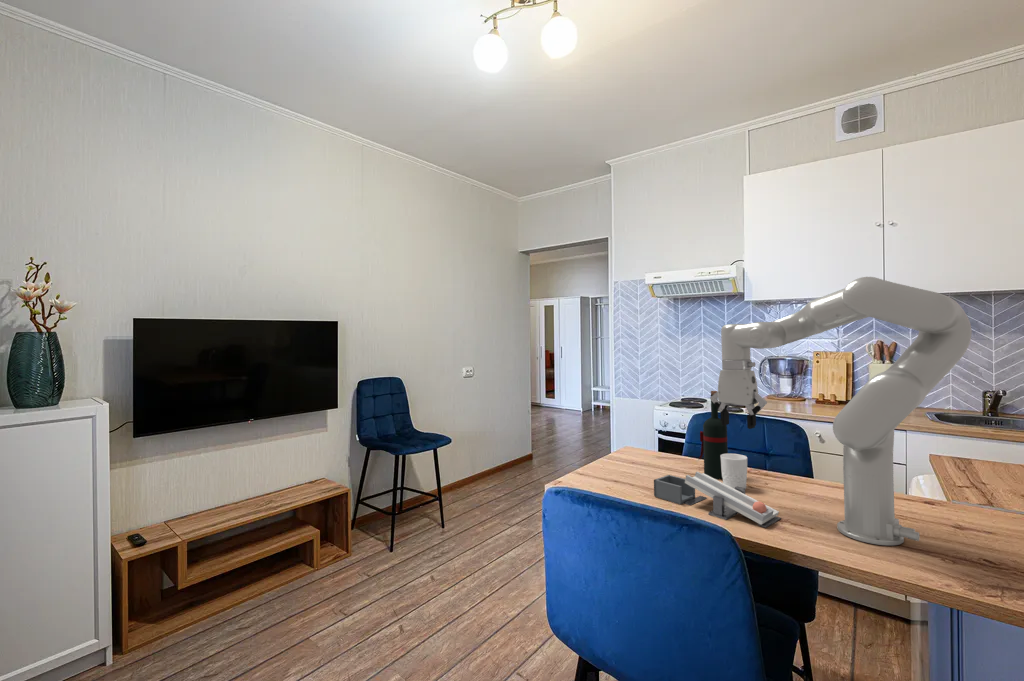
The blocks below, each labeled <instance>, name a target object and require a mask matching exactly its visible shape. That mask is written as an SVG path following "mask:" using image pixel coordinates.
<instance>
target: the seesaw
mask: <svg viewBox="0 0 1024 681" xmlns="http://www.w3.org/2000/svg"><path fill="white" fill-rule="evenodd" d="M684 479H685V483H686V484H687V485H689V486H691V487H693V488H695V490H697V491H698V492H700V493H702V494H704V495H705V496H707V497H710V498H711V499H713V496H718V497H722V498H724V505H726V506H728V507H730V508H731V509H733V510H735V511H737V512H739V514H741V515H742V516H744V517H746V518H748V519H750V520H752V521H753V522H755V523H756V524H761V525H762V524H763V523H765V522H767V521H768V520H770V519H772V518H774V517H775V516H776V517H778V515H779V512H780V511H779V510H776V509H775V508H773V507H771V506H769V505H767V504H765V506H766V512H764V513H762V514H761V513H759V512H757V511H755V510H753V504H754V503H755V502H757V501H758V500H757V499H755V498H753V497H751V496H749V495H747V494H746V493H745V494H743V493H741V492H740V491H738V490H736V489H734V488H732V487H730V486H728V485H726V484H724V483H723V481H722V482H721V480H720V481H719V479H714V478H712V477H710V476H708V475H706V474H704V472H703V473H701V472H699V471H696V472H695V474H694V476H691V475H689V474H687V475H685V478H684Z"/></svg>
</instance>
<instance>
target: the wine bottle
mask: <svg viewBox="0 0 1024 681" xmlns="http://www.w3.org/2000/svg"><path fill="white" fill-rule="evenodd" d="M717 391H718V390H710V397H711V396H713V395H714V394H715V393H716V392H717ZM710 415H711V416H710V417H709V418H707V419H706V420H705V421H704V423H703V424H702V428H703V429H702V430H703V431H701V430H700V432H699V440H700V441H699V442H701V446H700V456H699V458H698V460H700V461H702V457H703V473H704V474H706V475H708V476H710V477H712V478H714V479H716V480H723V478H722V471H721V457H720V455H721V454H729V452H728V449H729V448H728V426H727V425H722V422H721V417H720V418H719V410H718V408H717V407H716V406H715V404H714V403H713V402H712V401H711V400H710Z"/></svg>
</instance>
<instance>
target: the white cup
mask: <svg viewBox="0 0 1024 681" xmlns="http://www.w3.org/2000/svg"><path fill="white" fill-rule="evenodd" d="M720 457H721V471H722V478H723V479H722V483H724V484H726V485H728V486H730V487H732V488H734V489H735V487H736V486H738V487H742V488H745V490H746V489H747V479H748V457H747V455H743V454H739V453H728V454H721V455H720Z"/></svg>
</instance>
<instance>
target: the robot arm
mask: <svg viewBox="0 0 1024 681" xmlns="http://www.w3.org/2000/svg"><path fill="white" fill-rule="evenodd" d="M866 318H872V319H876V320H878V321H879V320H880V321H883V322H887V323H889V324H890V323H891V324H894V325H897V326H901V327H904V328H907V329H911V330H914V331H918V334H917V337H916V338H915V340H913V342H912V343H911V344H910V345H909V346H908V347H907V348H906V349H905V350H904V351H903V353H902V354H901V355H900V356H899V357H898V358H897V359H896V361H895V362H894V363H892V365H891V366H889V368H887V369H886V370H884V371H882V372H880V373H877V374H875V375H874V376H872V377H871V378H870V379H869V380H868V381H867V382H866V383H865V384H864V385H863V386H862V387H861V388H860V389H859V390H858V391H857V392H856V394H855V395H853V397H852V398H851V399H850V400H849V401H848V403H846V404H845V405H844V406H843V408H842V409H841V410H840V411H839V412H838V413H837V415H835V417H834V419H833V423H832V431H833V432H832V433H833V434H834V436H835V438H836V440H837V441H838V442H839V443H841V445H842V446H843V447H842V448H843V450H842V451H843V452H842V453H843V454H842V463H843V464H842V465H843V466H842V468H843V469H842V472H843V474H842V475H843V502H844V504H843V506H844V507H843V508H844V520H843V519H842V520H840V521H838V522H837V524H836V527H837V530H838V532H840V533H841V534H842V535H844V536H846V537H848V538H851V539H853V540H855V541H858V542H862V543H868V544H873V545H877V546H878V545H879V546H899V545H901V544H903V543H904V542H905V539H909V540H911V541H916V542H919V541H920V538H921V537H920V532H919V531H916V529H915V528H911V527H906V526H903V525H902V524H900V519H899V518H895V517H896V516H895V515H896V514H895V491H894V489H895V488H894V486H895V484H894V443H895V442H894V441H895V429H896V428H897V427H898V426H899V425H900V424H901V423H902V422H903V421H905V419H906V418H908V416H909V415H910V414H911V413H912V412H913V411H914V410H915V409H916V408H917V407H919V406H920V405H921V404H922V403H923V402H924V401H925V399H926V397H927V395H928V394H929V393H930V392H931V391H932V390H933V389H934V388H935V387H936V386H937V385H938V384H939V383H940V382H941V381H942V380H943V379H944V378H945V376H947V374H948V373H949V372H951V370H952V369H953V368H954V366H956V365H957V363H959V361H961V358H963V357H964V355H965V353H966V352H967V350H968V348H969V346H970V343H971V339H972V325H971V322H970V319H969V317H968V315H967V313H966V312H965V310H964V309H963V308H962V306H961V305H960V304H959V303H958V302H957V301H956V300H955V299H953V298H952V297H950V296H948V295H945V294H944V293H940V292H936V291H932V290H927V289H923V288H918V287H916V286H915V287H914V286H909V285H906V284H902V283H901V284H900V283H897V282H892V281H890V280H885V279H882V278H879V277H874V276H861V277H859V278H858V277H857V278H856V279H854V280H852V281H850V282H849V283H848V284H847V285H845V287H844V288H842V289H840V290H837V291H835V292H832V293H828V294H826V295H822V296H820V297H818V298H815V299H812V300H811V301H809V302H808V303H806V304H805V306H804V307H803V308H801V309H800V310H798V311H796V312H794V313H792V314H790V315H787V316H784V317H782V318H778V319H776V320H773V321H755V322H752V323H751V322H749V323H732V324H730V323H729V324H725V325H723V326H722V327H721V329H720V330H721V331H720V336H721V368H722V370H720V372H719V376H718V382H717V383H718V384H717V390H716V391H717V392H716V393H715V394H714V395H713V396H711V395H710V397H709V398H710V402H711V401H712V402H713V403H714V404H715V406H716V407H717V408H718V412H720V413H719V415H720V419H721V422H722V425H730V413H729V412H730V411H728V408H729V406H730V405H735V406H737V405H738V406H745V408H746V411H747V412H748V414H747V415H746V425H747V429H748V430H751V429H754V428H756V425H757V414H758V413H759V412H760V411H761V410H762V409H763V408H764V407H765V406H766V405H767V403H768V401H767V400H766V399H765V398H763V397H762V395H760V394H759V388H758V381H757V378H756V374H755V371H754V370H752V368H755V367H756V362H753V361H752V360H751V349H758V350H759V349H760V350H764V349H774V348H779V347H781V346H784V345H788V344H791V343H794V342H797V341H801V340H803V339H806V338H809V337H811V336H814V335H818V334H821V333H824V332H827V331H830V330H833V329H835V328H838V327H842V326H844V325H848V324H850V323H851V324H852V323H853V322H856V321H861V320H864V319H866ZM756 404H757V405H756ZM755 405H756V406H755Z"/></svg>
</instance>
